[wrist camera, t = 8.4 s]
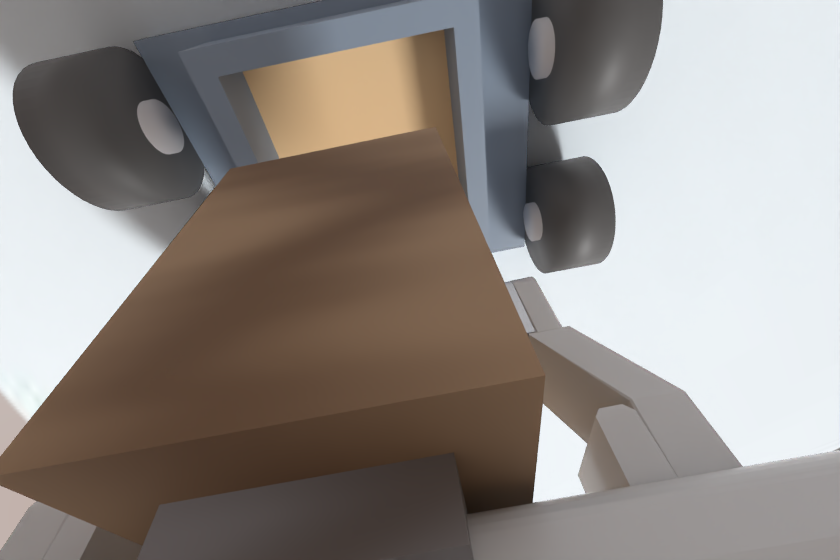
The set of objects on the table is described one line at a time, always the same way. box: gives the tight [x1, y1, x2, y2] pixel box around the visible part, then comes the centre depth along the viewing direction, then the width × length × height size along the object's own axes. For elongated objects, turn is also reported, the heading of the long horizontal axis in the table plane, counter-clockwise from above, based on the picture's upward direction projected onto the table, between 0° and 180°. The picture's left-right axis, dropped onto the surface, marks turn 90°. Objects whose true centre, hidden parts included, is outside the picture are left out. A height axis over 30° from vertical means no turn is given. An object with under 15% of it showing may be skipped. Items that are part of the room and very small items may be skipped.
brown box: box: [0, 127, 545, 560], centre depth 8 cm, size 5×7×8 cm
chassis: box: [13, 0, 663, 273], centre depth 15 cm, size 19×12×5 cm, turn 99°
